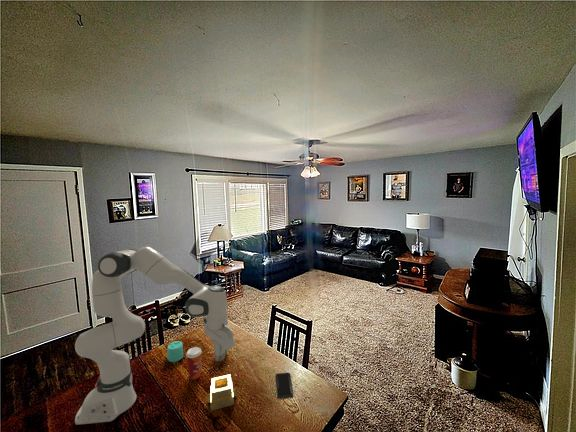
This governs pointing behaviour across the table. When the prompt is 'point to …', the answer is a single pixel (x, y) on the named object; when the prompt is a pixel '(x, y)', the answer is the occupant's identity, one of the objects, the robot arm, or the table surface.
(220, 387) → the valve body
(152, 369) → the table surface
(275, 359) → the table surface
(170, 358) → the turquoise rounded container
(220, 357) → the silver metal cylinder
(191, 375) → the paper cup
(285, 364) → the table surface
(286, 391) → the phone
